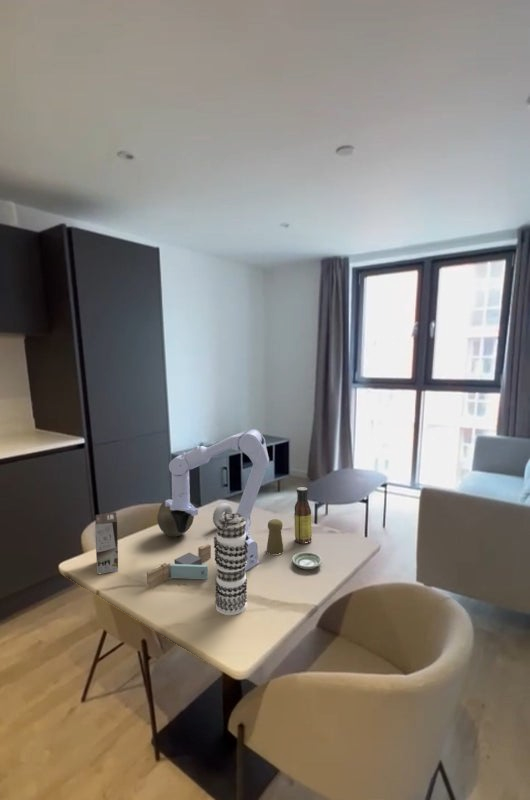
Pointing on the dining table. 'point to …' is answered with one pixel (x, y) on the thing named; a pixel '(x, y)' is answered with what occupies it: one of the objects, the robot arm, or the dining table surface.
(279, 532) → the cork
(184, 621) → the dining table surface
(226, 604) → the decorative candle
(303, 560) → the saucer
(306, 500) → the sauce bottle
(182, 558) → the doorstop
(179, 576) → the light blue bar
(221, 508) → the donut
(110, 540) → the coffee box
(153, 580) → the tan wooden flat bar
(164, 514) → the cantaloupe
